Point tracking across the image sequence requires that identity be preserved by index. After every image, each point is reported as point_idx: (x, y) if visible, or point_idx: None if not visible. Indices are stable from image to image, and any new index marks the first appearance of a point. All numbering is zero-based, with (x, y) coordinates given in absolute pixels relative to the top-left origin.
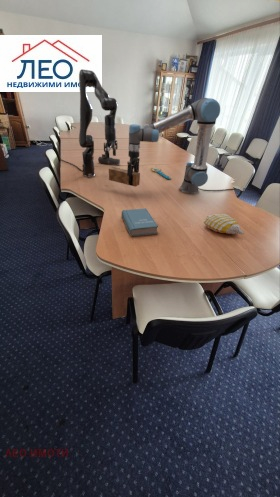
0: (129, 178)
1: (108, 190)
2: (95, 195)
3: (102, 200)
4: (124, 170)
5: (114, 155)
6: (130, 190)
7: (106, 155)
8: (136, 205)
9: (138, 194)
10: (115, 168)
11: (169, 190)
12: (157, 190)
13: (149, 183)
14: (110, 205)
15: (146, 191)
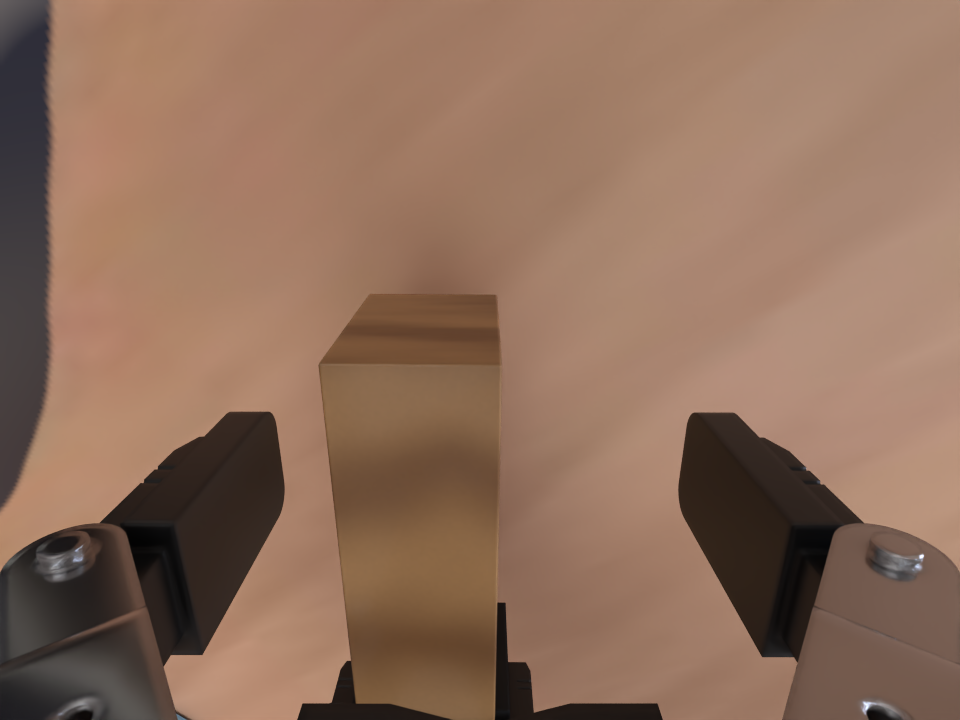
0: (335, 701)
1: (416, 229)
2: (180, 188)
3: (143, 339)
4: (438, 635)
5: (684, 478)
6: (575, 438)
7: (150, 489)
8: (295, 622)
9: (523, 543)
10: (430, 466)
11: (780, 705)
12: (725, 634)
13: (898, 507)
14: (123, 462)
15: (642, 570)
